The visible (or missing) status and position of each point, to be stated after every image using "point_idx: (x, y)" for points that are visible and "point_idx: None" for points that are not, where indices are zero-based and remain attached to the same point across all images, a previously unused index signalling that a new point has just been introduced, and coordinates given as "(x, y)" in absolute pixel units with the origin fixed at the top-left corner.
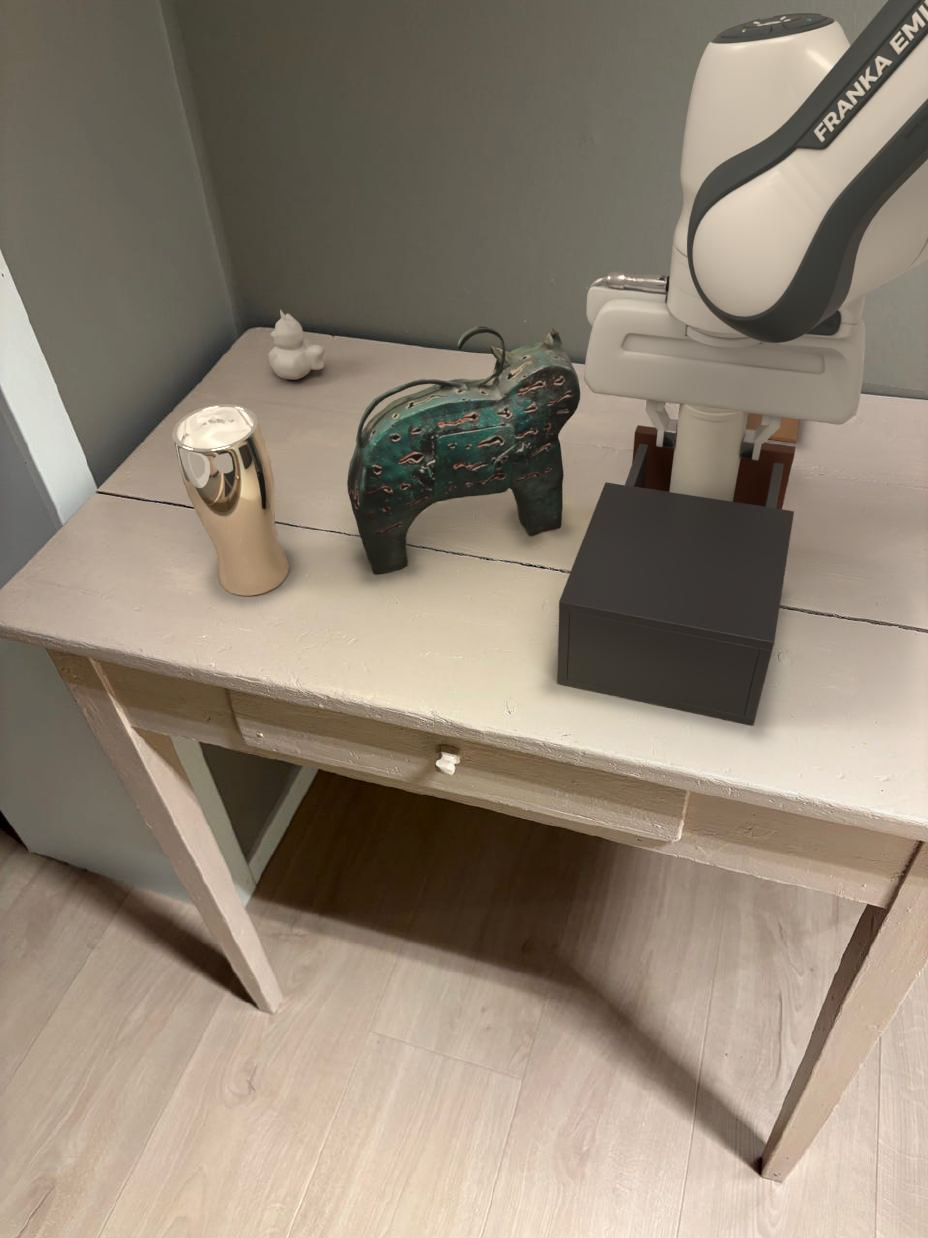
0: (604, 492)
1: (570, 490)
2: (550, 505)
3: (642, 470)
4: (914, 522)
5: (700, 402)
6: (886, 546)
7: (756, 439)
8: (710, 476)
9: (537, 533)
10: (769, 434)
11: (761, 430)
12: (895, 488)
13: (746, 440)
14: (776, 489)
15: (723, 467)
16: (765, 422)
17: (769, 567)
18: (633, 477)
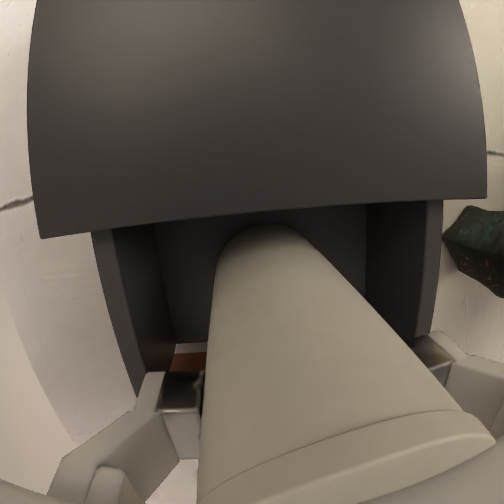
0: (482, 158)
1: (437, 314)
2: (480, 230)
3: (403, 321)
4: (44, 385)
5: (450, 487)
6: (46, 343)
7: (147, 420)
8: (269, 284)
9: (462, 213)
10: (100, 437)
11: (141, 454)
12: (81, 428)
13: (186, 416)
14: (120, 337)
15: (238, 316)
16: (108, 477)
17: (59, 14)
18: (429, 268)
